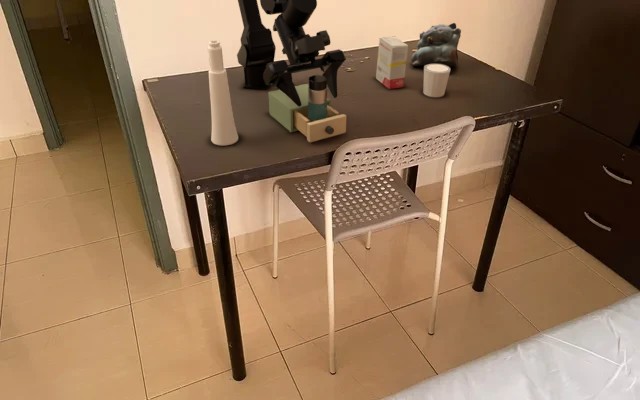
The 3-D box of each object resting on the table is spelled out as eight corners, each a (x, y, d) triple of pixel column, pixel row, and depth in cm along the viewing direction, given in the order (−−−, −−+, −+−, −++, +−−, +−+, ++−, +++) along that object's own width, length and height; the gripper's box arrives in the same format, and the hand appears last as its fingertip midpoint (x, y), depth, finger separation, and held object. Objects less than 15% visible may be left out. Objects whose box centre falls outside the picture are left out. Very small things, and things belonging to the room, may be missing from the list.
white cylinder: (449, 90, 137) (453, 65, 133) (443, 100, 132) (447, 74, 128) (424, 86, 140) (427, 61, 136) (417, 95, 135) (420, 69, 131)
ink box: (404, 87, 139) (409, 44, 132) (388, 89, 138) (392, 46, 131) (391, 76, 146) (394, 35, 139) (375, 78, 144) (378, 36, 137)
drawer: (348, 134, 114) (349, 117, 112) (312, 144, 110) (312, 127, 108) (322, 115, 122) (322, 99, 120) (287, 124, 118) (287, 107, 116)
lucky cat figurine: (401, 65, 152) (407, 18, 151) (425, 72, 160) (431, 28, 159) (443, 64, 141) (450, 13, 140) (466, 72, 150) (473, 23, 148)
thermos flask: (306, 128, 114) (306, 81, 108) (309, 120, 118) (309, 74, 111) (325, 130, 114) (325, 82, 107) (327, 121, 117) (328, 75, 111)
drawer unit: (330, 122, 121) (330, 99, 118) (291, 132, 117) (290, 109, 113) (307, 105, 129) (307, 83, 126) (269, 114, 124) (268, 92, 121)
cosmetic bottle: (238, 132, 116) (229, 36, 104) (238, 145, 111) (228, 46, 99) (212, 133, 116) (199, 37, 103) (210, 146, 111) (197, 47, 98)
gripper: (265, 24, 102) (292, 94, 101) (342, 12, 110) (369, 77, 109) (252, 52, 112) (276, 116, 111) (323, 39, 120) (347, 98, 119)
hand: (318, 101), depth 112 cm, fingers open, 9 cm apart
